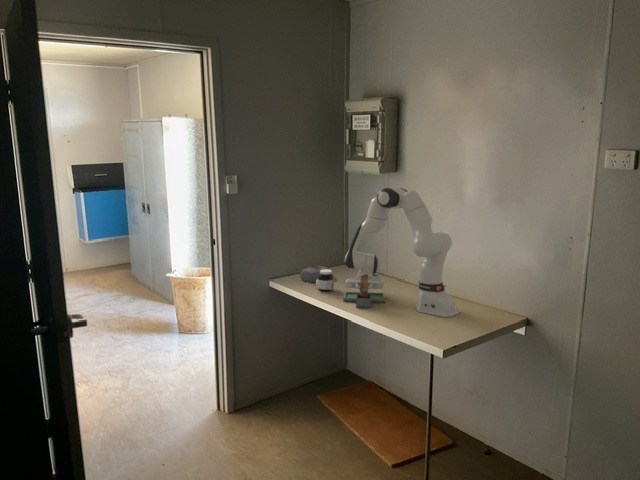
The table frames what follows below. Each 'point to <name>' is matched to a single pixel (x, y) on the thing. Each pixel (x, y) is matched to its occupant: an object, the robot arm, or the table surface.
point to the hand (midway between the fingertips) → (363, 287)
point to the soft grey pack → (311, 273)
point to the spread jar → (325, 280)
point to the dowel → (363, 286)
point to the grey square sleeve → (363, 302)
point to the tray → (374, 296)
